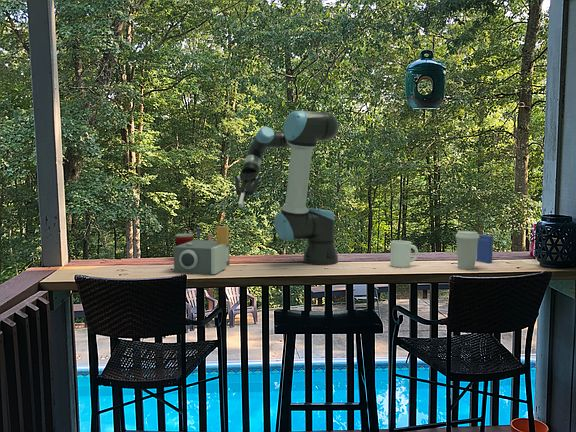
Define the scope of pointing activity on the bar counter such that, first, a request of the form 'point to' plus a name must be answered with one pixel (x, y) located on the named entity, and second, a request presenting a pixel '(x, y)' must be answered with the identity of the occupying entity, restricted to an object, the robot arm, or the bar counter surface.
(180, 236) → the canned food
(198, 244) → the camera housing
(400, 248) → the mug
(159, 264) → the bar counter surface
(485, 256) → the walkman
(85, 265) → the bar counter surface
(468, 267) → the coffee cup
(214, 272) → the door
